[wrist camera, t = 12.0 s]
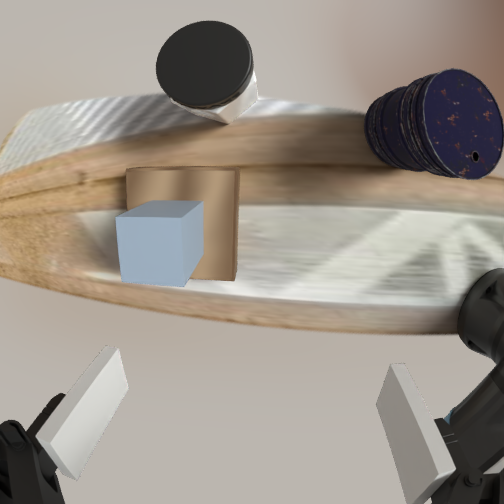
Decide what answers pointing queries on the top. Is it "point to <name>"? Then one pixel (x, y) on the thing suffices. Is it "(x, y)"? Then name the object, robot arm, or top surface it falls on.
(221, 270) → the base block
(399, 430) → the robot arm
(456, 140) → the dark blue upright cylinder
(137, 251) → the slate block
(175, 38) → the jar
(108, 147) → the top surface
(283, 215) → the top surface
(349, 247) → the top surface
